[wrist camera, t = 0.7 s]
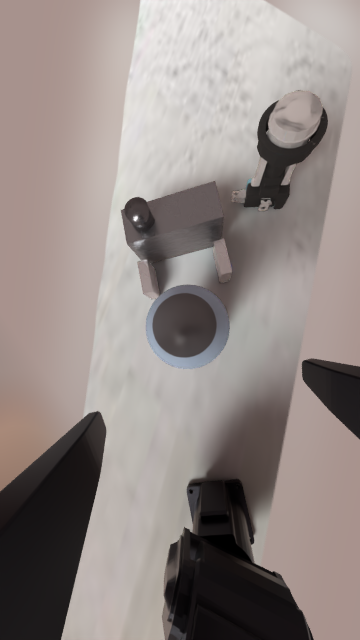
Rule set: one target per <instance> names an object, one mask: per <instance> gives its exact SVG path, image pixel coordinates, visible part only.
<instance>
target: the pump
mask: <svg viewBox="0 0 360 640" xmlns="http://www.w3.org/2000/svg"><path fill="white" fill-rule="evenodd" d="M229 329H230V327H229V317H228V314H227V311H226V309H225V307H224V305H223V303H222V302H221V301H220V299H219V298H218V297H217V296H216V295H215V294H213V293H212V292H211V291H209V290H207V289H205V288H203V287H200V286H196V285H180V286H176V287H173V288H171V289H168V290H167V291H165V292H164V293H162V294H161V295H160V296H159V297H158V298H157V299H156V300H155V301H154V303H153V304H152V306H151V308H150V310H149V312H148V315H147V319H146V335H147V339H148V342H149V344H150V346H151V348H152V350H153V351H154V353H155V354H156V355H157V356H158V357H159V358H160V359H161V360H162V361H164V362H165V363H167V364H169V365H171V366H173V367H177V368H182V369H193V368H198V367H201V366H204V365H206V364H208V363H210V362H211V361H213V360H214V359H215V358H216V357H217V356H218V355H219V354H220V353H221V351H222V350H223V348H224V347H225V345H226V342H227V340H228V336H229Z"/></svg>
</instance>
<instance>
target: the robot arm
mask: <svg viewBox="0 0 360 640" xmlns="http://www.w3.org/2000/svg"><path fill="white" fill-rule="evenodd" d="M302 377H303V380H304V382H305V383H306V384H307V386H308V387H309V388H310V389H311V390H312V391H313V392H314V393H315V394H316V396H317V397H318V398H319V399H320V400H321V401H322V402H323V404H324V405H325V406H326V407H327V408H328V409H329V410H330V411H331V412H332V413H333V414H334V415H335V416H336V417H337V418H338V419H339V420H340V421H341V422H342V423H343V424H344V425H345V426H346V427H347V428H348V429H349V430H350V431H351V432H353V433H354V434H355V435H356V436H357V437H358V438H359V439H360V367H358V366H353V365H347V364H341V363H335V362H330V361H324V360H318V359H308V360H304V361H303V362H302ZM105 438H106V426H105V424H104V421H103V418H102V415H101V413H100V412H99V411H97V412H92V413H89V414H88V415H87V416H85V417H84V418H83V419H82V420H81V421H80V422H79V423H77V424H76V425H75V426H74V427H73V428H72V429H71V430H70V431H68V432H67V433H66V434H65V435H64V436H63V437H62V438H60V439H59V440H58V441H57V442H56V443H55V444H54V445H53V446H51V447H50V448H49V449H48V450H47V451H46V452H45V453H43V454H42V455H41V456H40V457H39V458H38V459H37V460H36V461H34V462H33V463H32V464H31V465H30V466H29V467H28V468H26V470H24V471H23V472H22V473H21V474H20V475H19V476H17V477H16V478H15V479H14V480H13V481H12V482H11V483H10V484H8V485H7V486H6V487H5V488H4V489H3V490H2V491H0V640H61V637H62V633H63V629H64V624H65V620H66V616H67V612H68V608H69V603H70V599H71V595H72V591H73V587H74V583H75V578H76V574H77V570H78V566H79V562H80V558H81V553H82V549H83V545H84V541H85V537H86V532H87V528H88V524H89V520H90V516H91V512H92V507H93V503H94V499H95V495H96V491H97V487H98V482H99V478H100V473H101V467H102V460H103V453H104V445H105ZM237 484H239V486H236V485H237ZM189 489H192V490H193V491H190V490H189ZM187 495H188V501H189V506H190V511H191V517H192V522H193V533H192V532H190V530H189V529H187V528H185V527H184V530H183V533H182V535H181V536H180V539H179V540H178V542H176V543H173V544H171V545H170V549H169V553H168V558H167V563H166V569H165V575H164V598H165V604H164V609H163V614H162V620H163V627H164V634H165V640H314V639H313V637H312V633H311V631H310V628H309V627H308V624H307V622H306V619H305V617H304V615H303V612H302V611H301V610H300V609H299V607H298V606H297V604H296V602H295V600H294V599H293V597H292V594H291V592H290V589H289V588H288V587H287V585H286V584H285V582H284V580H283V578H282V576H281V575H280V574H278V573H276V572H271V571H269V570H267V569H265V568H263V567H261V566H259V565H257V564H255V563H254V558H253V553H252V548H251V545H252V544H253V543H254V537H253V532H252V528H251V523H250V519H249V514H248V509H247V505H246V500H245V496H244V491H243V487H242V483H241V481H240V480H237V479H236V480H226V481H222V480H221V481H211V482H202V483H197V484H189V485H188V487H187ZM249 537H250V538H249Z"/></svg>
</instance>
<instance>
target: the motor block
mask: <svg viewBox="0 0 360 640" xmlns="http://www.w3.org/2000/svg"><path fill="white" fill-rule="evenodd" d="M121 213H122V219H123V224H124V230H125V235H126V241H127V245H128V246H129V247H130V248H131V249H132V250H133V251H134V252H135V253H136V255H137V256H138V257H139V258H140V259H141V260H142V261H138V262H137V263H138V268H139V273H140V279H141V284H142V290H143V294H144V295H146V296H148V297H149V298H151V299H156V298H158V297H159V296H160V292H159V287H158V282H157V277H156V271H155V269H154V267H153V266H152V265H151V264H150V263H153V262H157V261H161V260H165V259H168V258H172V257H176V256H180V255H183V254H187V253H191V252H195V251H199V250H202V249H206V248H210V247H213V256H214V260H215V265H216V269H217V273H218V278H219V282H220V283H223V282H227V281H229V280H230V277H231V274H232V268H231V264H230V260H229V256H228V252H227V248H226V244H225V240H224V238H223V239H221V236H222V228H223V219H224V215H223V211H222V207H221V203H220V199H219V195H218V191H217V187H216V183H215V181H213V182H210V183H207V184H204V185H200V186H197V187H194V188H191V189H187V190H184V191H181V192H178V193H175V194H171V195H168V196H165V197H162V198H158V199H155V200H152V201H149V202H146V201H145V200H144V199H143V198H140V197H135V198H132V199H130V200H129V201H128V202H127V203H126V205H125V209H123V210H121Z"/></svg>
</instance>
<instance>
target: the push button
mask: <svg viewBox="0 0 360 640" xmlns="http://www.w3.org/2000/svg"><path fill="white" fill-rule="evenodd" d="M327 124H328V119H327V114H326V111H325V109H324V108H323V106H322V102H321V101H320V98H319V97H318V96H317V95H315V94H313V93H312V92H310V91H301V90H298V91H294V92H291V93H288V94H286V95H285V96H284V97H283V98H281V99H280V100H278V101H276V102H275V103H273V104H272V105H271V106H270V107H268V108H267V110H266V111H265V112H264V113H263V115H262V117H261V119H260V122H259V126H258V132H257V134H258V140H259V141H258V145H257V149H258V152H259V155H260V160H259V164H258V168H257V171H256V175H255V177H252V178H251V179H249V180H248V182H247V186H246V189H241V191H232V197H231V202H240V203H244V207H259V208H258V210H259V211H266V210H267V209H268V207H269V206H274V209H281V208H282V207H283V205H284V204H285V202H286V200H287V198H288V197H289V191H290V180H291V174H292V172H293V170H294V168H295V166H296V164H297V163H299V162H302V161H303V160H304V159H305V158H306V157H307V156H308V155H309V154H310V153H311V152H312V150H313V149H314V148H315V147H316V146H317V145H318V144H319V142H320V141H321V139H322V138H323V136H324V134H325V132H326V129H327ZM267 131H268V133H267V134H266V132H267ZM309 139H310V141H309ZM308 141H309V142H308ZM235 193H238V195H235ZM234 198H237V200H234ZM262 207H265V208H264V209H262Z"/></svg>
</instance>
